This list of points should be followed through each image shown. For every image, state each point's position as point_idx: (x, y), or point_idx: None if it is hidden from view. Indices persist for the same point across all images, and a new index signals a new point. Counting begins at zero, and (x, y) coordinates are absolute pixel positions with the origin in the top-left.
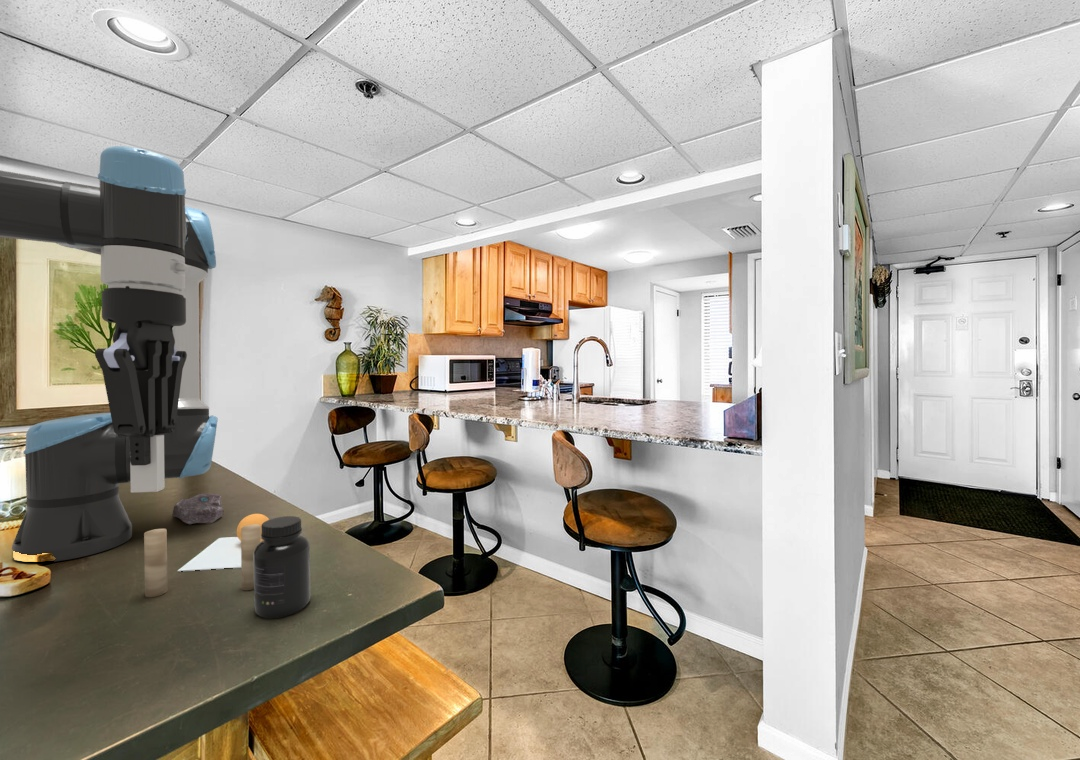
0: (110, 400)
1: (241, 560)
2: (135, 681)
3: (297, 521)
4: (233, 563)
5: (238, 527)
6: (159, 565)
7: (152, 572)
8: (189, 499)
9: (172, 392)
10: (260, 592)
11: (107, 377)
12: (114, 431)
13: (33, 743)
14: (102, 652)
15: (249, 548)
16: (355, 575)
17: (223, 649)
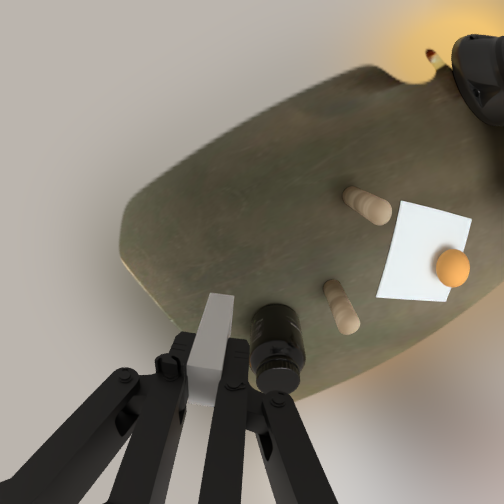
0: (64, 427)
1: (336, 295)
2: (180, 244)
3: None
4: (397, 255)
5: (453, 256)
6: (355, 209)
7: (351, 201)
8: None
9: (277, 499)
10: (255, 325)
11: (28, 470)
12: (116, 370)
13: (128, 212)
14: (233, 197)
15: (333, 313)
16: (317, 366)
17: None
